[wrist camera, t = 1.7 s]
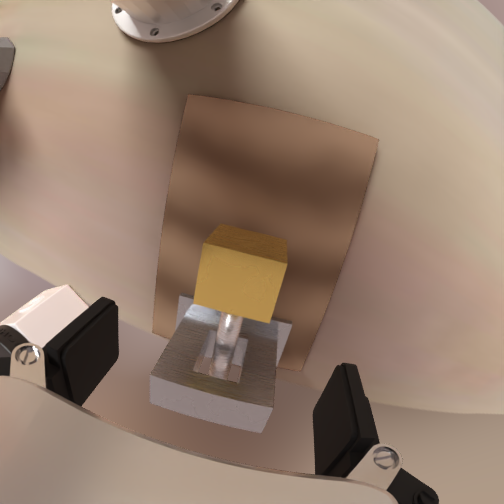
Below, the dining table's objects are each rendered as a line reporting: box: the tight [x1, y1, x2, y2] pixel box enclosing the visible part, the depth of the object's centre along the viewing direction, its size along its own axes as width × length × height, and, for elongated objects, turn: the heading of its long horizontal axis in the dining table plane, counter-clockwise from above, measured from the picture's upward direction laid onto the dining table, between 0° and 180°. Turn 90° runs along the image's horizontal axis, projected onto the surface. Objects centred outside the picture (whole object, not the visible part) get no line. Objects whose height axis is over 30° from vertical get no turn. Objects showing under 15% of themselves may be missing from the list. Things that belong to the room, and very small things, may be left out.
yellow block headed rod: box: [193, 224, 287, 380], centre depth 21 cm, size 14×5×5 cm, turn 167°
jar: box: [0, 285, 89, 357], centre depth 24 cm, size 9×8×12 cm
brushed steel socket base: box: [150, 293, 292, 433], centre depth 22 cm, size 5×10×10 cm, turn 77°
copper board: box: [152, 94, 379, 372], centre depth 24 cm, size 22×15×1 cm
